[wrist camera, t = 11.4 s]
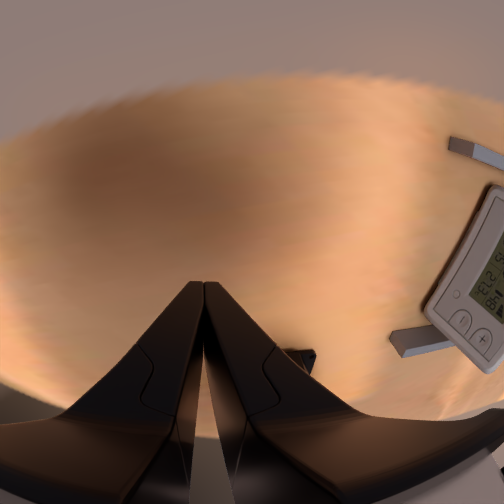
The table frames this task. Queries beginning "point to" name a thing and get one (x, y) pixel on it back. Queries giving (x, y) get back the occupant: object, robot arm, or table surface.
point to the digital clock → (475, 288)
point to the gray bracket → (430, 336)
